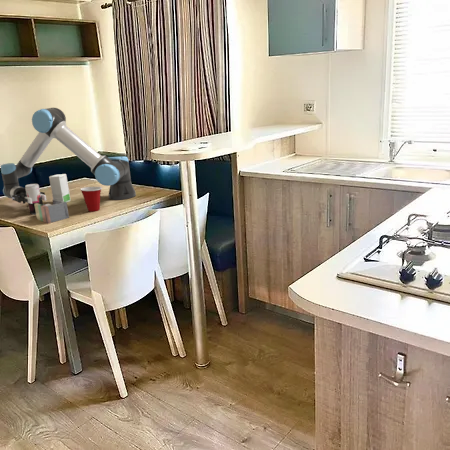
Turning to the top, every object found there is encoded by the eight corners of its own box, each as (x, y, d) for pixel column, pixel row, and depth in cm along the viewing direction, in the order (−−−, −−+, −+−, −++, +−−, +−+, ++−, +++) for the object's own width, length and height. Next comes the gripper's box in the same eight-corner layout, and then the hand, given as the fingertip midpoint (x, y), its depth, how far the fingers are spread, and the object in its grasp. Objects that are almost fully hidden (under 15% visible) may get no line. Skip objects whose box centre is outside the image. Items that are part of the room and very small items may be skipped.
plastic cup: (109, 209, 247) (106, 186, 243) (91, 214, 239) (87, 191, 236) (97, 206, 254) (94, 184, 250) (79, 211, 246) (75, 188, 243)
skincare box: (63, 204, 263) (58, 176, 259) (52, 204, 265) (48, 177, 260) (71, 200, 271) (66, 173, 267) (60, 200, 273) (56, 173, 268)
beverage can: (45, 212, 248) (40, 184, 244) (33, 215, 244) (27, 187, 240) (40, 210, 253) (35, 183, 248) (28, 213, 249) (23, 185, 244)
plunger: (35, 215, 242) (31, 195, 238) (46, 212, 246) (43, 193, 242) (44, 218, 235) (40, 198, 232) (55, 215, 239) (52, 195, 236)
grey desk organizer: (37, 219, 236) (34, 203, 234) (57, 214, 244) (55, 199, 241) (47, 223, 228) (45, 207, 226) (69, 217, 235) (66, 202, 233)
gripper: (38, 196, 266) (57, 202, 250) (3, 204, 253) (20, 211, 237) (36, 183, 264) (55, 188, 248) (0, 191, 251) (17, 196, 235)
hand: (38, 199), depth 243 cm, fingers open, 7 cm apart
